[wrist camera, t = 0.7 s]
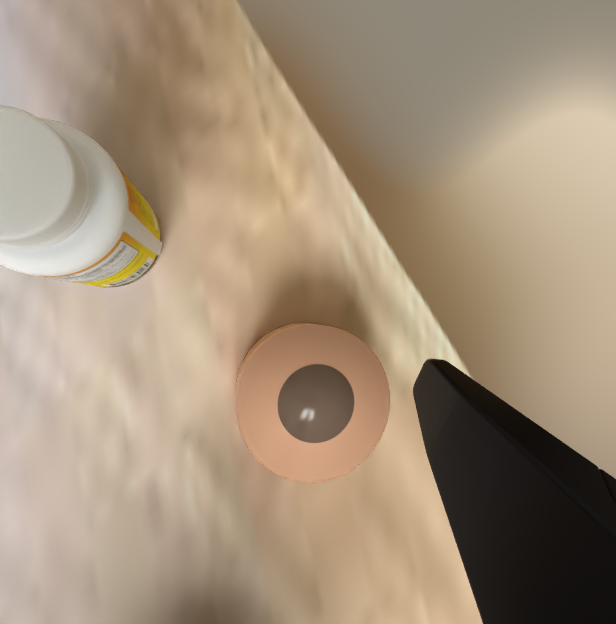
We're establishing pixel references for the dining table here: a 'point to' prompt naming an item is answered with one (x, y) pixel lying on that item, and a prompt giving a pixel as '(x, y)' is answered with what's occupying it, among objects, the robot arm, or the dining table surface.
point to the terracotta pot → (311, 401)
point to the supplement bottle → (70, 207)
